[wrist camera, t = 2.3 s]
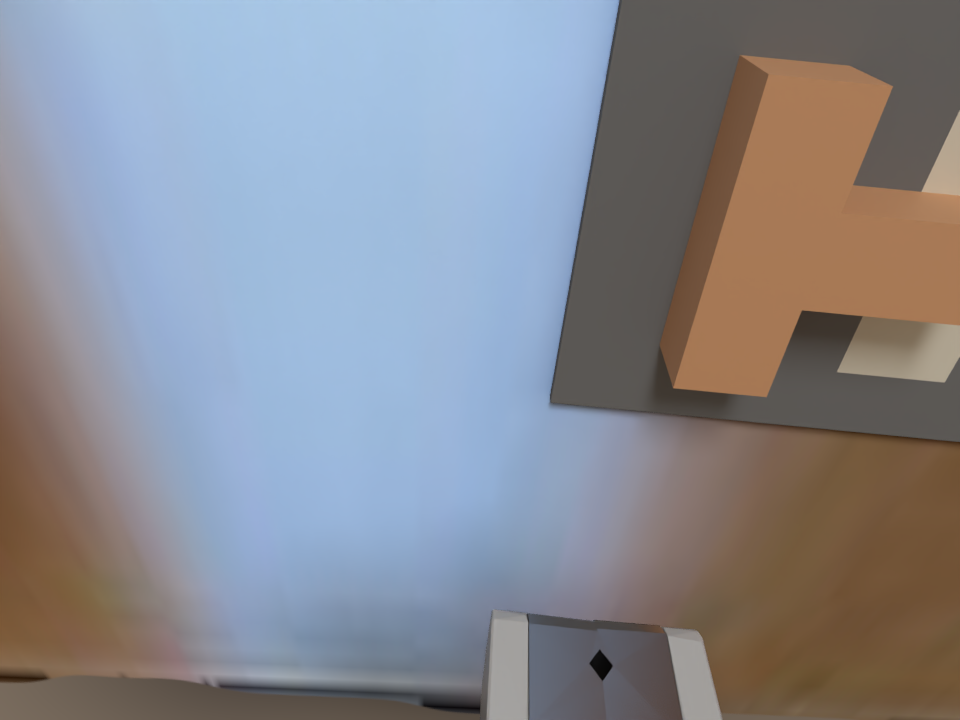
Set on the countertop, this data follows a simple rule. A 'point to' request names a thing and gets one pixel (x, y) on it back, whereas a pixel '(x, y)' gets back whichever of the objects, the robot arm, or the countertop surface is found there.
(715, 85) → the t mat
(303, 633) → the countertop surface
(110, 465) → the countertop surface
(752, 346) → the t block
